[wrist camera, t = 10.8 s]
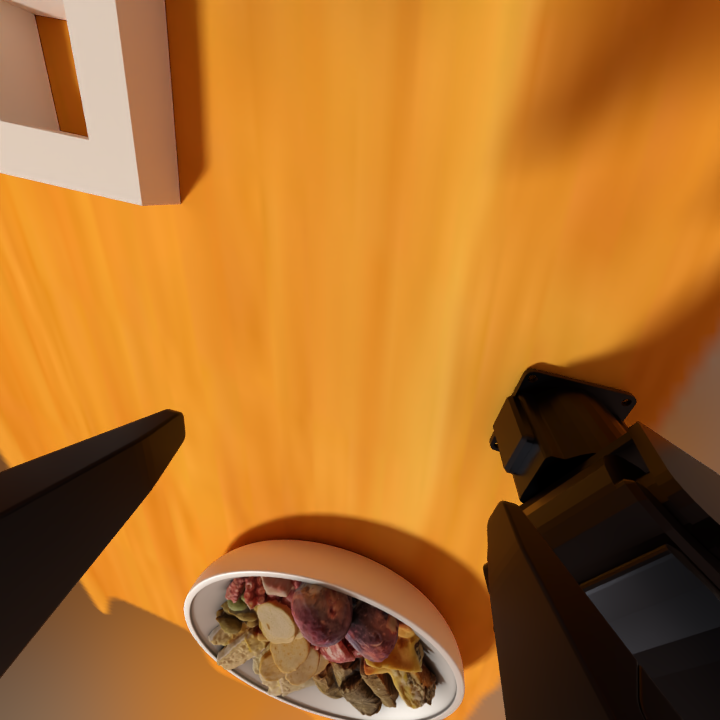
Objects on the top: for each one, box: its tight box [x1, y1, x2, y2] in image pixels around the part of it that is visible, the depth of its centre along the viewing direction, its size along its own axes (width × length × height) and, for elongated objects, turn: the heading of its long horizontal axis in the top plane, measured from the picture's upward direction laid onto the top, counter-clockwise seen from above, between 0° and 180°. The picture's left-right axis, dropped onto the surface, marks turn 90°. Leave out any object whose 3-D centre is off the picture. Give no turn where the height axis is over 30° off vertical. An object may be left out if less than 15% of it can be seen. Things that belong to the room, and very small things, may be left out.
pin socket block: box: [0, 0, 181, 206], centre depth 16 cm, size 10×10×3 cm
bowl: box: [184, 540, 465, 720], centre depth 35 cm, size 30×30×8 cm
